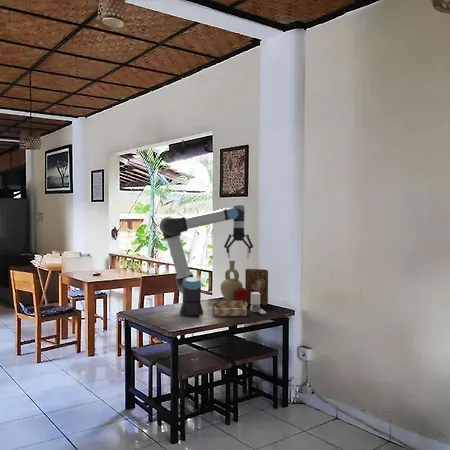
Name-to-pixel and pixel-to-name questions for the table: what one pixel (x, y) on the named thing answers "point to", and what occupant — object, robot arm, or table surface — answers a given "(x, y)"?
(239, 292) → the apple
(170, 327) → the table surface
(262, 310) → the mat
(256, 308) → the block
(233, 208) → the robot arm
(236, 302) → the carton
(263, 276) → the book
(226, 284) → the vase
